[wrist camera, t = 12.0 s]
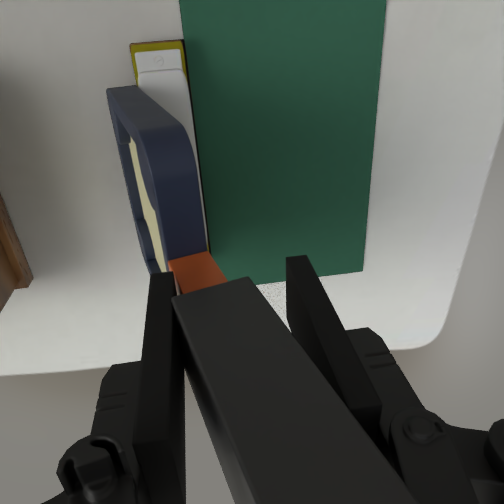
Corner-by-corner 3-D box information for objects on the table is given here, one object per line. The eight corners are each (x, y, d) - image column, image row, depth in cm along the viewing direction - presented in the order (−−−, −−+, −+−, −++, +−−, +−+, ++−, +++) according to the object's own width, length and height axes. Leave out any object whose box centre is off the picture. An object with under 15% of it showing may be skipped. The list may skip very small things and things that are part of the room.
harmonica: (210, 254, 32) (214, 268, 30) (169, 261, 31) (171, 275, 30) (183, 38, 24) (186, 40, 23) (129, 43, 24) (128, 45, 22)
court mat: (215, 289, 34) (215, 290, 33) (175, -28, 23) (175, -28, 23) (362, 270, 35) (362, 271, 34) (389, -42, 24) (390, -42, 24)
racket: (173, 244, 30) (479, 822, 9) (131, 254, 29) (353, 930, 8) (144, 80, 25) (813, 551, 3) (91, 86, 24) (491, 825, 2)
